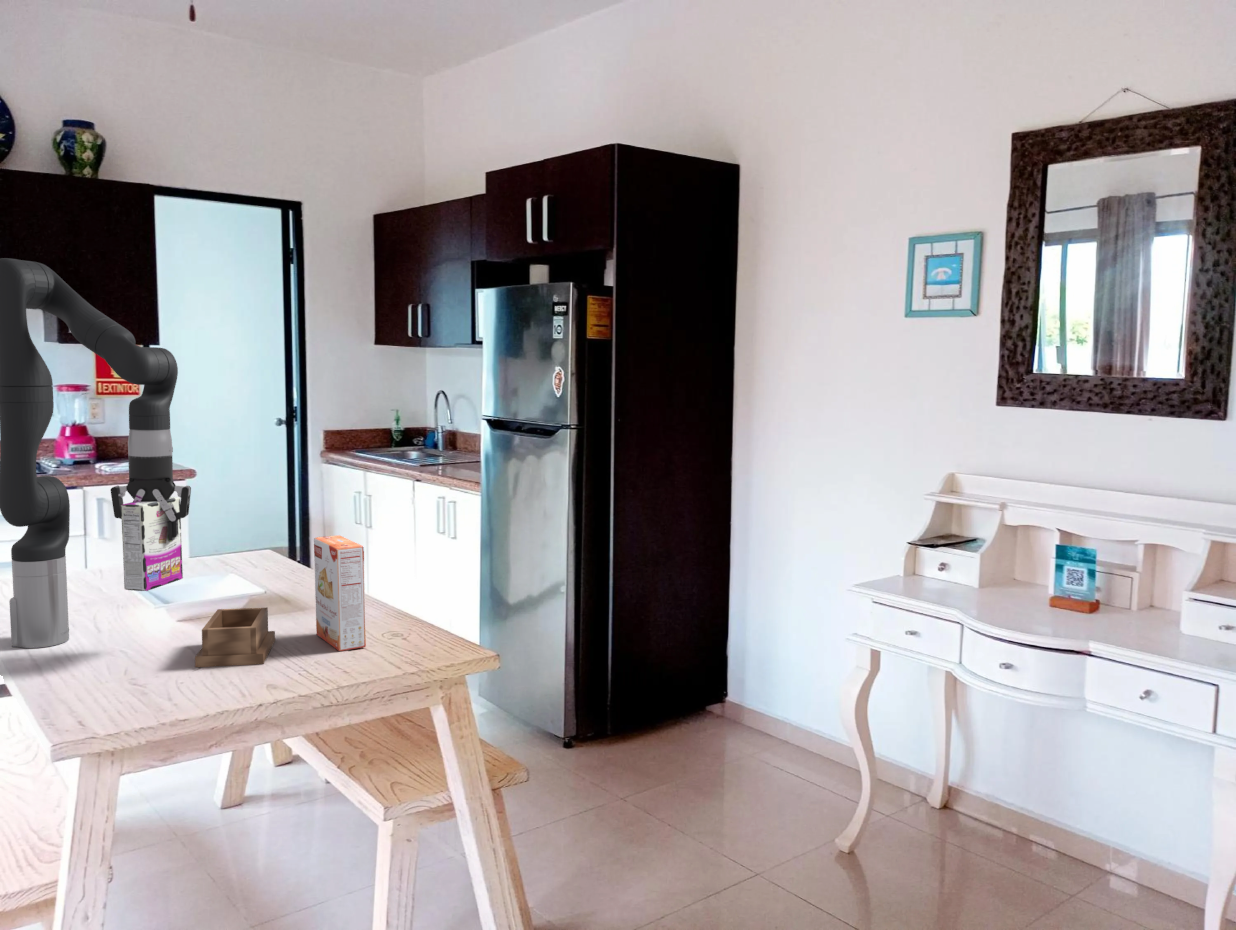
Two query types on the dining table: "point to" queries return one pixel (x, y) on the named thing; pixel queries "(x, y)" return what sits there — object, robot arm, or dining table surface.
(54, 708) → the dining table surface
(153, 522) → the candy bar box
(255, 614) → the walnut stand
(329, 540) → the cracker box
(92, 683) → the dining table surface
